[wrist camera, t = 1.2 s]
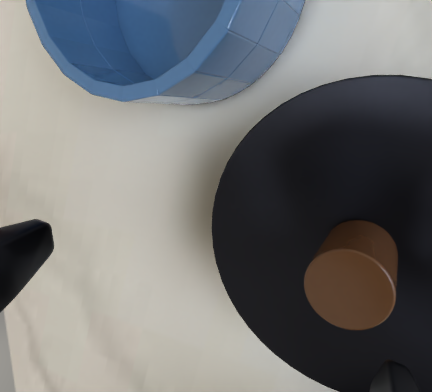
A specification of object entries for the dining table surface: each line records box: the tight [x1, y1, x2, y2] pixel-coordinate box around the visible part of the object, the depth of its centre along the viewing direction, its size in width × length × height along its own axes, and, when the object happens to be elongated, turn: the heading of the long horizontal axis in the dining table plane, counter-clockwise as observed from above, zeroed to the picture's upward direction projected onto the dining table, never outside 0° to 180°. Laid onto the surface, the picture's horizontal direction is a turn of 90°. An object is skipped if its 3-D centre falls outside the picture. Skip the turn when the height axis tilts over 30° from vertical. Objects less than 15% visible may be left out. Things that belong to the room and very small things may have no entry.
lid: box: [212, 75, 432, 392], centre depth 13 cm, size 14×14×5 cm
